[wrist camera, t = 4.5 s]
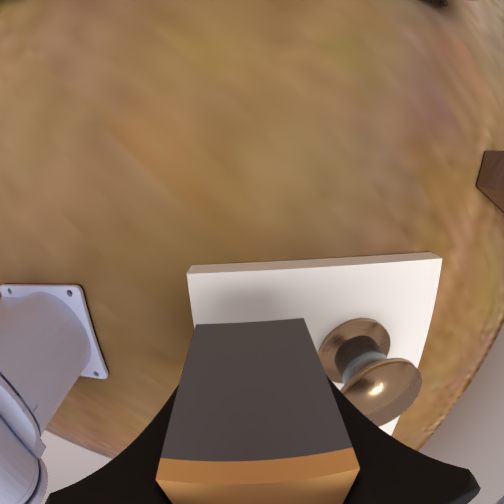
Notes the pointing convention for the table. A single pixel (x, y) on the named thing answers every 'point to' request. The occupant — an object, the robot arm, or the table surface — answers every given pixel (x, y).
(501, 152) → the wooden block
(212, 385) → the grey and orange block
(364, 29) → the table surface
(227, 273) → the notched board
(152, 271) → the table surface
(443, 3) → the alarm clock
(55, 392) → the robot arm
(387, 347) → the bronze knob
